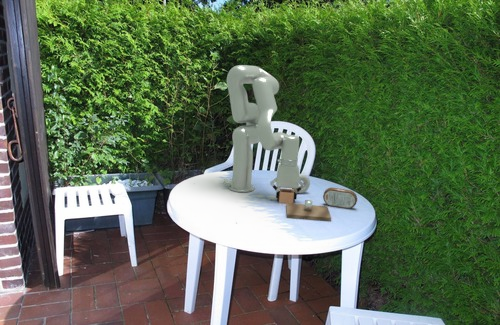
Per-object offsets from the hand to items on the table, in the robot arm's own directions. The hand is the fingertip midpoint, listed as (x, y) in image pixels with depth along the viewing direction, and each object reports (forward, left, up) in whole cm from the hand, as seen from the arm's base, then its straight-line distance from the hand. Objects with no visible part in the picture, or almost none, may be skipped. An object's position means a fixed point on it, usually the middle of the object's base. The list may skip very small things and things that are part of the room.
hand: (286, 199), depth 180 cm
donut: (+7, +14, -1) cm, 16 cm away
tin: (+24, -2, -1) cm, 24 cm away
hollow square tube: (0, 0, -1) cm, 1 cm away
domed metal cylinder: (+9, -14, +1) cm, 17 cm away
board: (+9, -14, -1) cm, 17 cm away
